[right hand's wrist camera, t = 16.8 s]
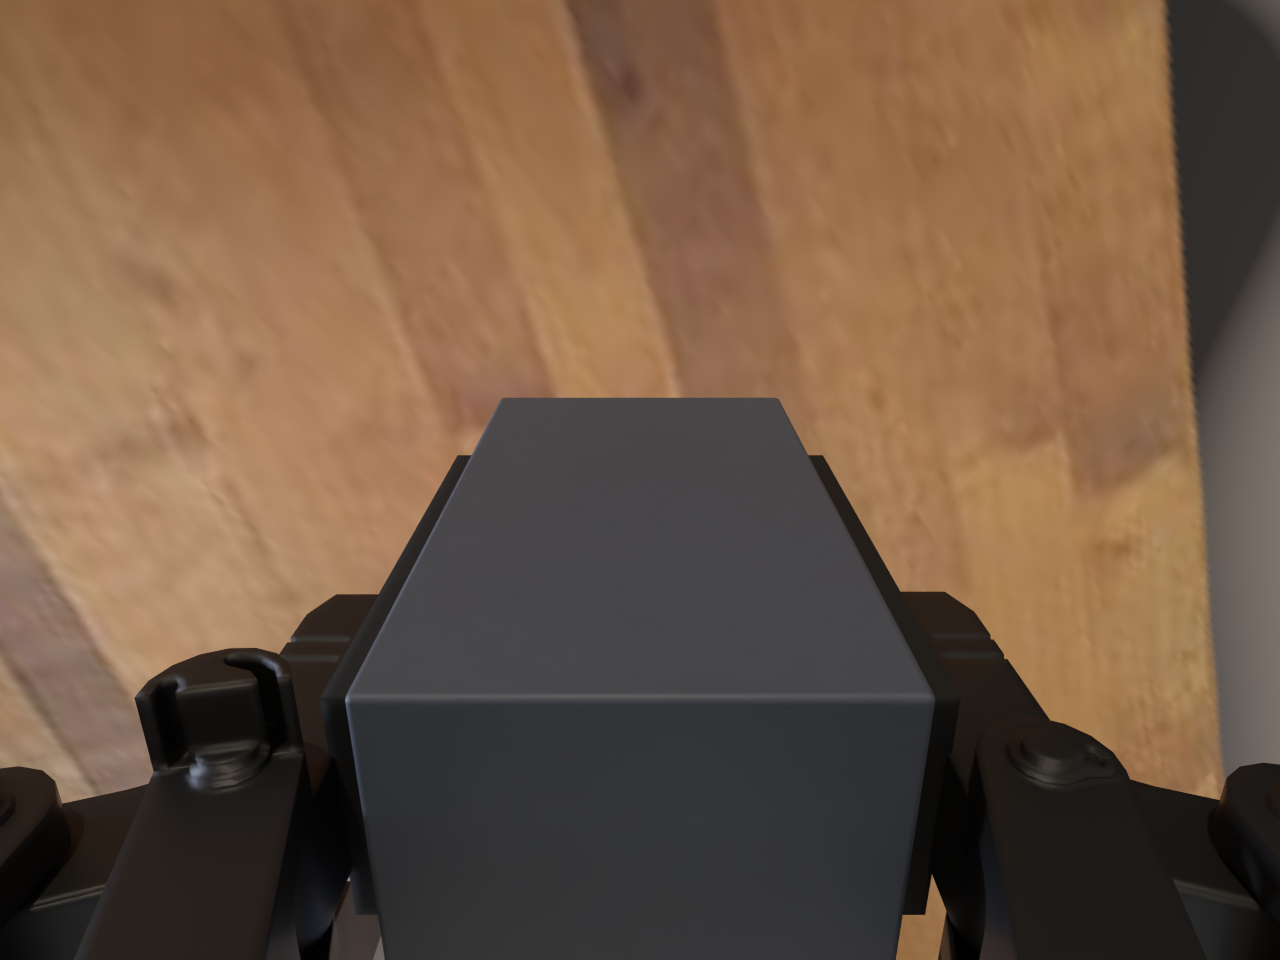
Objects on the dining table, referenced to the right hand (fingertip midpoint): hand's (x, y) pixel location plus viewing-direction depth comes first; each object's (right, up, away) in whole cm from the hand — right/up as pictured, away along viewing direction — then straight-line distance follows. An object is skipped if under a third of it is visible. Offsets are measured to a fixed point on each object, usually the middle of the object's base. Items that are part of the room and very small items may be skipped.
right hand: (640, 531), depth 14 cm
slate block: (0, 0, 0) cm, 0 cm away
